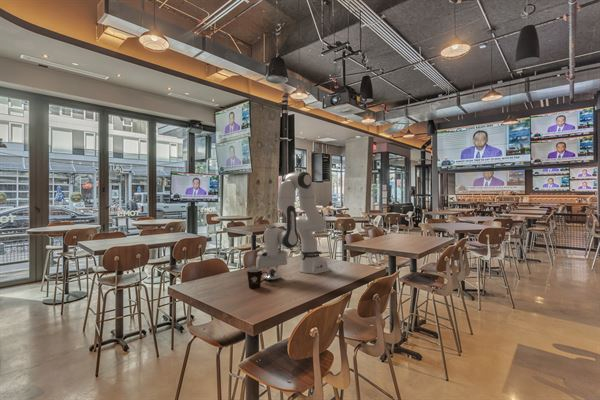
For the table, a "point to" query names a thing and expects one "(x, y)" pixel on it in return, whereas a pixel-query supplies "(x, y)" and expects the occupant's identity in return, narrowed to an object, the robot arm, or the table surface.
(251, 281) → the coffee mug
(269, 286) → the table surface
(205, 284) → the table surface
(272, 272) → the lid
